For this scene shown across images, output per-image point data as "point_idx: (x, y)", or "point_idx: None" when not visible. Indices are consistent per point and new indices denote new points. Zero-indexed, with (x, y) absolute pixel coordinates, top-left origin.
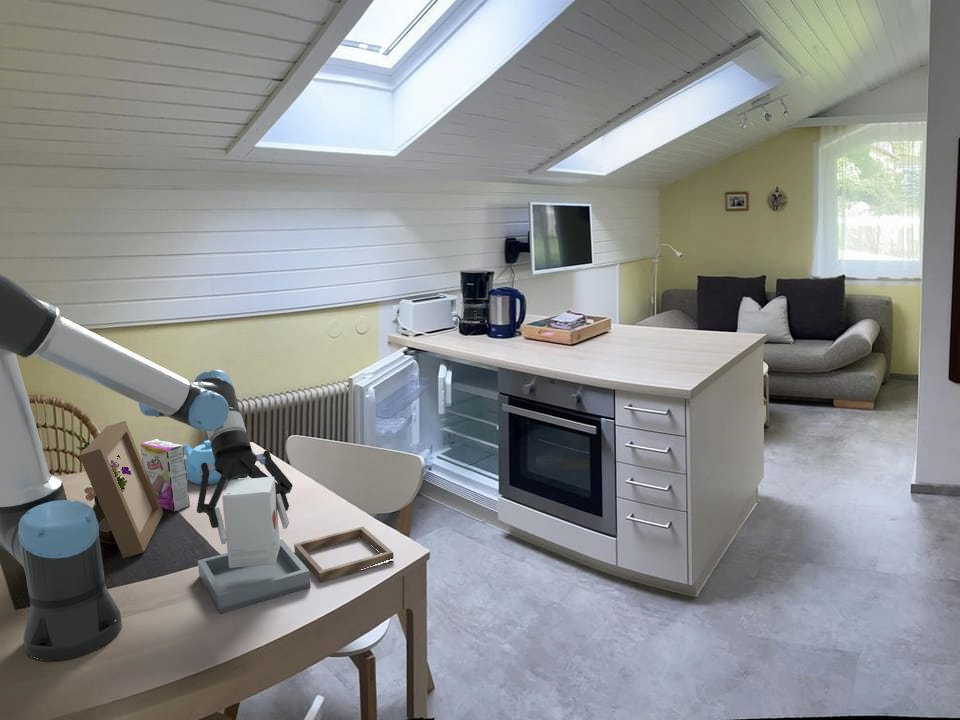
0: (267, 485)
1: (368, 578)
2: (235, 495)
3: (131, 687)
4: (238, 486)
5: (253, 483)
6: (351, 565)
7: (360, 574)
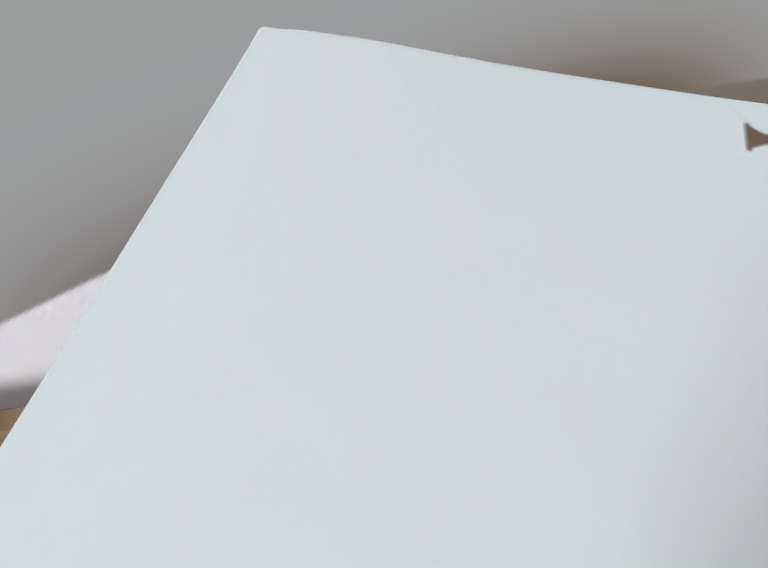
0: (197, 203)
1: (18, 354)
2: (656, 93)
3: (760, 93)
4: (660, 337)
5: (384, 369)
6: (22, 410)
7: (22, 398)
